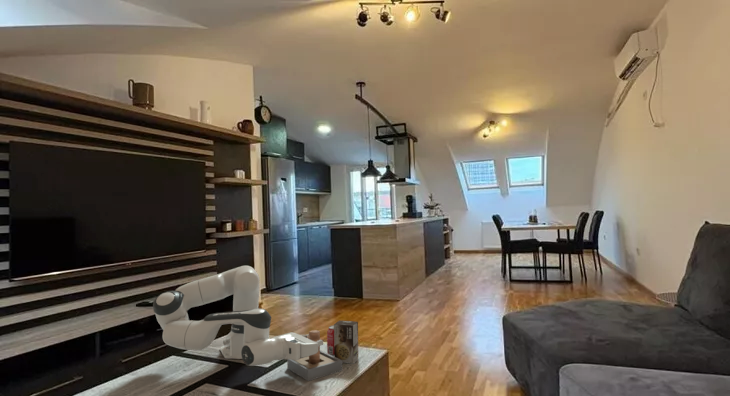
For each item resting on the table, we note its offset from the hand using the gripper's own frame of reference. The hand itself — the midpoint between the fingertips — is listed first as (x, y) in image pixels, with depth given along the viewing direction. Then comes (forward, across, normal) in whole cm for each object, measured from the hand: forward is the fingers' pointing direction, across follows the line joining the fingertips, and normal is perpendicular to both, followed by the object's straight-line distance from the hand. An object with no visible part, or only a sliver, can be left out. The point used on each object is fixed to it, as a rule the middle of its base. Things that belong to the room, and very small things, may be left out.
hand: (315, 339), depth 165 cm
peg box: (0, 0, -12) cm, 12 cm away
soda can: (+16, -10, -12) cm, 23 cm away
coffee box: (+15, 0, -12) cm, 20 cm away
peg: (-1, 0, -11) cm, 11 cm away
